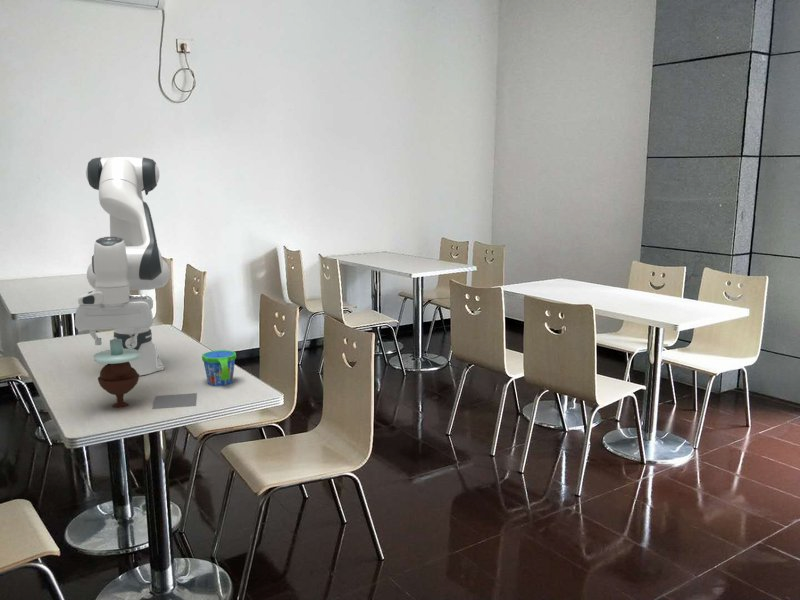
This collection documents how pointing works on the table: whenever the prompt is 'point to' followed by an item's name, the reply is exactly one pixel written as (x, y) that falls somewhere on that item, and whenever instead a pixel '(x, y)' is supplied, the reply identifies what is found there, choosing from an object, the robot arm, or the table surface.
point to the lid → (116, 354)
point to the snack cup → (219, 367)
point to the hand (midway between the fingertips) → (116, 343)
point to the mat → (174, 401)
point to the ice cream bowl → (118, 381)
